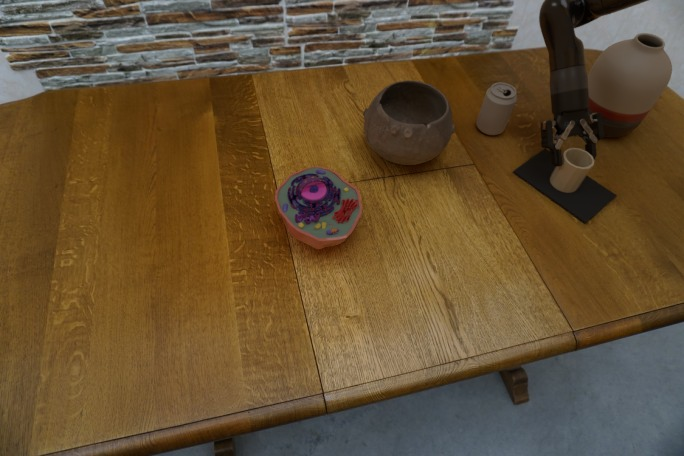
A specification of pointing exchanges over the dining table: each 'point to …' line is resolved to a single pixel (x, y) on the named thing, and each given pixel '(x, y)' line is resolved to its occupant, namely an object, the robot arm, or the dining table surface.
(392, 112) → the clay pot
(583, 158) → the cup
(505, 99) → the can
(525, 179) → the mat
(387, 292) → the dining table surface
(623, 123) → the vase
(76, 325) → the dining table surface
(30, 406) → the dining table surface
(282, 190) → the cell model
